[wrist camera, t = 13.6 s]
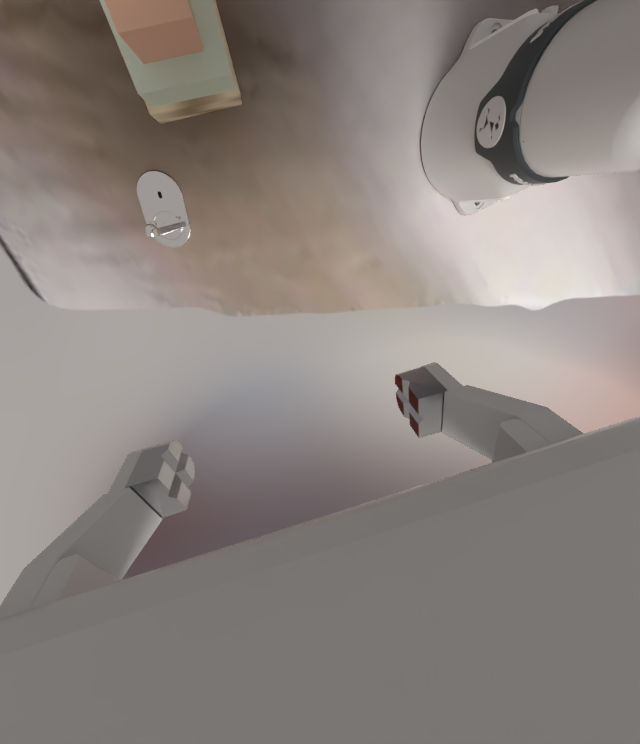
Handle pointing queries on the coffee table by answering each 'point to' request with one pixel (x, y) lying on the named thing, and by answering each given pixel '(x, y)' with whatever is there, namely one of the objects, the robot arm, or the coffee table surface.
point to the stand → (163, 209)
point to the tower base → (202, 103)
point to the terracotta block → (156, 27)
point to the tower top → (181, 64)
